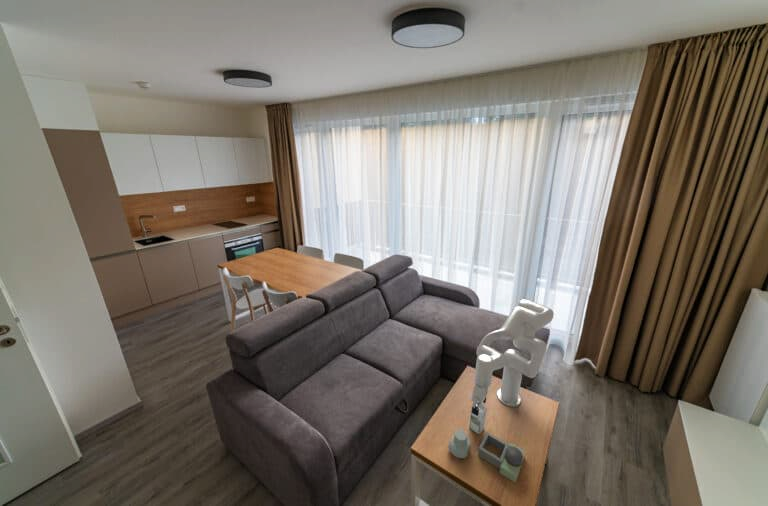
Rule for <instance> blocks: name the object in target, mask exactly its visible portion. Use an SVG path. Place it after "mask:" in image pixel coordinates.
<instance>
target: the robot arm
mask: <svg viewBox="0 0 768 506" xmlns="http://www.w3.org/2000/svg"><path fill="white" fill-rule="evenodd" d="M554 316H555V315H554V310H552V309H551V308H550V307H548V306H546V305H543V304H540V303H537V302H534V301H532V300H529V299H525V298H524V299H520V300H519V302H518V304H517V306H515V307H513V309H512V310H511V312H510V313H509V315H508V317H507V318H506V320H505V321H504V323H503V324H502V326H501V327H500V328H499V329H496V330H493V331H491V332H489V333H488V334H486V335H485V336H483V338H482V340H481V341H480V343H479V345H478V346H477V349H476V356H477V357H476V364H475V371H474V380H473V381H474V385H473V389H472V394H471V402H473V403H472V406H471V408H472V413H473V414H475V415H477V416H478V414H479V406H480V405H481V404H483V403H484V404H486V403H487V395H488V392H489V388H490V387H491V384H492V377H493V372H494V371H497V370H501V369H503V371H502V372H503V373H502V379H501V384H500V388H499V389H498V390H497V392H496V397H497V399H498V400H499V401H500V403H502V404H503V405H505V406H508V407H513V408H514V407H517V406H519V405H520V404H521V400H522V398H521V396H520V390H521V389H520V388H521V384H522V377H523V375H524V376H525V377H528V378H531V379H533V378H535V377H536V376H537V374H538V372H539V371H540V367H541V365H542V362H543V360H544V357H545V354H546V351H547V344H546V342H545V341H543V340H542V339H540V338H538V337H536V336H535V335H536V333H537V331H539V330H541V329H542V328H544V327H545V326H548V325H549V324H550V323H551V322H552V320H553V319H554ZM497 340H509V341H510V340H511V341H512V343H513V346H514V347H516V348H517V349H518V350H517V349H514V348H508V349H507V350H505V352H504V353H502V352H501V351H499V350H497V349H495V348H493V347H491V346H490V345H491V344H492V343H493V342H495V341H497ZM519 350H520V351H519ZM521 351H522V352H521ZM523 352H524V353H523ZM525 353H527V354H529V356H528V355H527V354H525ZM478 402H479V403H478ZM476 404H478V406H477V407H476Z"/></svg>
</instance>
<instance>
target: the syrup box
mask: <svg viewBox="0 0 768 506" xmlns="http://www.w3.org/2000/svg"><path fill="white" fill-rule="evenodd" d="M478 403H479V402H478ZM477 406H478V404H476V407H477ZM487 411H488V406H486V405H485V404H483V403H482V404H481V405H480V406H479V414H478V416H477V415H475V414H473V413H472V407H471V409H470V418H469V426H468V428H469V429H470V430H471V431H473V432H474V433H476V434H477V435H480V434H481V433H482V432H483V430H484V429H485V424H486V418H487Z"/></svg>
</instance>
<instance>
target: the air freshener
mask: <svg viewBox="0 0 768 506" xmlns="http://www.w3.org/2000/svg"><path fill="white" fill-rule="evenodd" d="M471 447H472V443H471V441H470V440H469V438H468V434H467V432H466V431H465V430H464V429H457V430H455V431H454V434H453V435H452V436H451V438H450V440H449V443H448V449H449V452H450V453H451V454H452V455H453V456H454V457H456V458H458V459H466V458H467V456H468V455H469V452H470V450H471Z"/></svg>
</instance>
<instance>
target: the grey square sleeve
mask: <svg viewBox="0 0 768 506" xmlns="http://www.w3.org/2000/svg"><path fill="white" fill-rule="evenodd" d="M488 443H489V444H490V445H492V446H494V447H495V448H497V449H499V450H501V451H502V453H501V455H500V457H498V456H497V455H495V454H493V453H492V452H490V451H489V450H487V449H485V448H486V446H487V444H488ZM525 455H526V450H524V449H522V448H520V447H519V446H518V445H515V444H513V443H511V442H509V443H507V442H505V441H503V440H502V439H500V438H498V437H496V436H495V435H492V434H491V433H489V432H488V431H487V432H486V433H485V435H484V437H483V439H482V441H481V443H480V446H479V447H478V453H477V456H479V457H480V458H482V459H483V460H484V461H486V462H488V463H490V464H491V465H493V466H494V467H496V468H497V469H499V474H500V475H502V476H503V477H505V478H507V479H509V481H511V482H513V483H515V484H517V480H518V476H519V474H520V471H521V468H522V465H523V462H524V459H525Z"/></svg>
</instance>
